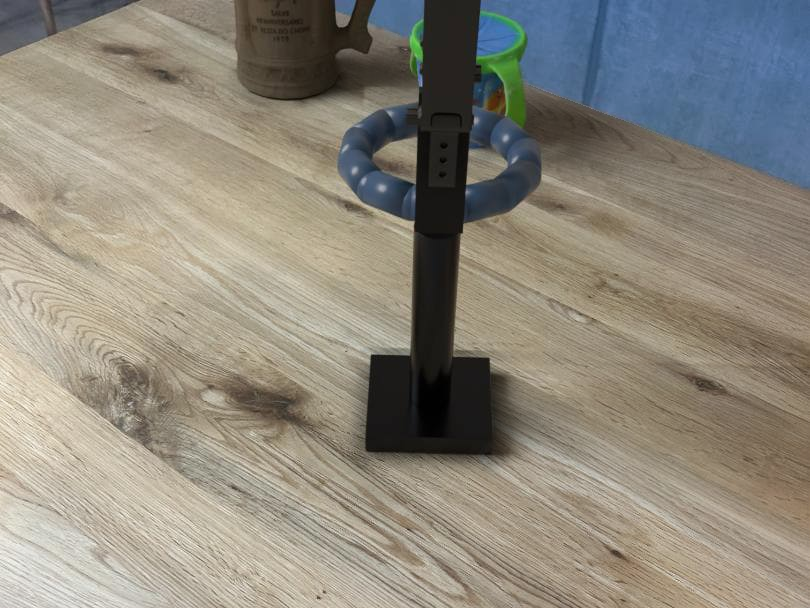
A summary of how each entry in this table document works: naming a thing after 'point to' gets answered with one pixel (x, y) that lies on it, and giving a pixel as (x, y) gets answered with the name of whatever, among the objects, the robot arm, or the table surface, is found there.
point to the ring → (401, 194)
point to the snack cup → (491, 66)
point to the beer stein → (295, 44)
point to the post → (431, 369)
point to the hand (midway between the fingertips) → (438, 213)
